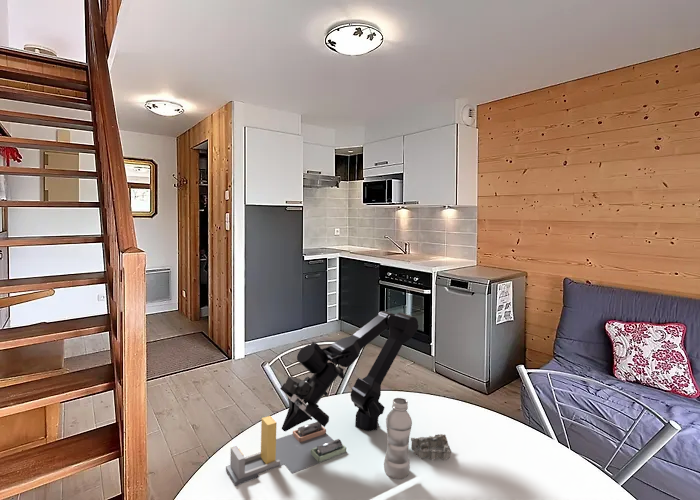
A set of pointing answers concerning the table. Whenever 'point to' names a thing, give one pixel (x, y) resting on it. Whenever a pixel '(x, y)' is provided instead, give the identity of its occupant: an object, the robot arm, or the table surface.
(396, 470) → the plastic bottle
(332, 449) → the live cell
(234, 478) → the checker
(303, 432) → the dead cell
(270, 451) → the tall mustard pillar
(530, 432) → the table surface
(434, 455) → the egg carton
